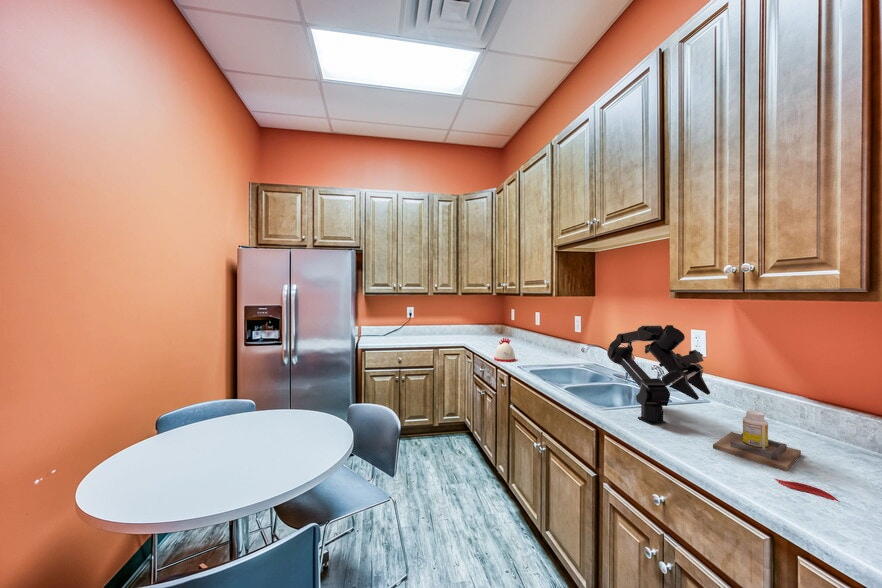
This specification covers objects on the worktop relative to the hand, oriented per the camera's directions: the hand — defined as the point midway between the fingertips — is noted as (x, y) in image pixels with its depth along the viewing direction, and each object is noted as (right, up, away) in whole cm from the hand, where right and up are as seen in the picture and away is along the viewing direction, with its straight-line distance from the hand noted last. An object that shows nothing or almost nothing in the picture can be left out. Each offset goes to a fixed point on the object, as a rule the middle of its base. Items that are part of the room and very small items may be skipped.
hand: (703, 396), depth 111 cm
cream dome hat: (-41, -12, +123) cm, 131 cm away
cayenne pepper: (+3, -15, -28) cm, 32 cm away
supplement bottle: (+9, -13, -8) cm, 18 cm away
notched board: (+9, -14, -8) cm, 18 cm away
